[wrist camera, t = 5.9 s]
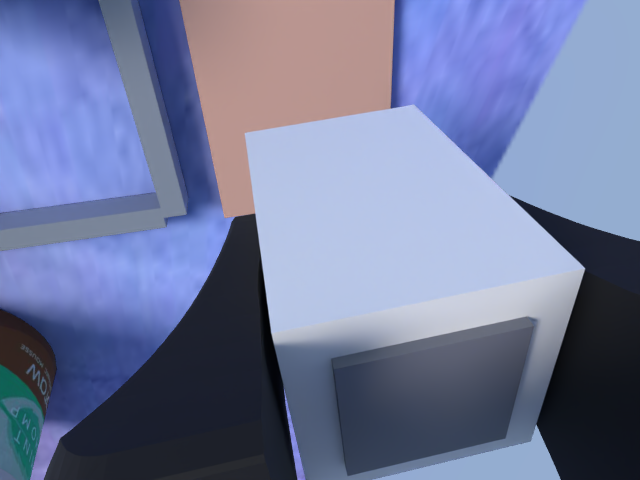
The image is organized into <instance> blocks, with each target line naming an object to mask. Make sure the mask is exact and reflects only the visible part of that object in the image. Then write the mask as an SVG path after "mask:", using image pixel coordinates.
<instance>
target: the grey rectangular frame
mask: <svg viewBox="0 0 640 480" xmlns="http://www.w3.org/2000/svg"><path fill="white" fill-rule="evenodd" d="M98 1H99V4H100V8H101V11H102V14H103V18H104V21H105V24H106V28H107V31H108V34H109V38H110V41H111V44H112V47H113V51H114V54H115V57H116V61H117V64H118V67H119V71H120V74H121V77H122V81H123V84H124V87H125V91H126V94H127V97H128V101H129V104H130V107H131V111H132V114H133V117H134V121H135V124H136V127H137V131H138V134H139V137H140V141H141V144H142V147H143V151H144V154H145V157H146V161H147V164H148V167H149V171H150V174H151V177H152V181H153V184H154V187H155V191H156V193H149V194H141V195H134V196H126V197H119V198H111V199H104V200H96V201H89V202H81V203H74V204H66V205H59V206H51V207H44V208H36V209H29V210H21V211H14V212H6V213H0V251H4V250H11V249H18V248H25V247H32V246H39V245H46V244H53V243H60V242H67V241H74V240H81V239H88V238H95V237H102V236H109V235H116V234H123V233H130V232H137V231H144V230H151V229H158V228H165V227H167V221H168V217H173V216H181V215H187V208H188V194H187V190H186V186H185V182H184V178H183V175H182V171H181V167H180V163H179V159H178V155H177V151H176V147H175V143H174V139H173V135H172V131H171V128H170V124H169V120H168V116H167V112H166V108H165V104H164V100H163V96H162V92H161V88H160V84H159V81H158V77H157V73H156V69H155V65H154V61H153V57H152V53H151V49H150V45H149V41H148V37H147V34H146V30H145V26H144V22H143V18H142V14H141V10H140V6H139V2H138V0H98Z"/></svg>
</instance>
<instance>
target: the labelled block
mask: <svg viewBox="0 0 640 480" xmlns="http://www.w3.org/2000/svg"><path fill="white" fill-rule="evenodd" d="M245 139H246V147H247V154H248V162H249V169H250V177H251V184H252V192H253V199H254V207H255V214H256V222H257V229H258V237H259V244H260V252H261V259H262V266H263V274H264V281H265V289H266V296H267V304H268V311H269V319H270V326H271V334H272V338H273V342H274V346H275V351H276V355H277V359H278V363H279V368H280V372H281V376H282V380H283V385H284V389H285V393H286V398H287V402H288V406H289V410H290V415H291V419H292V423H293V427H294V432H295V436H296V440H297V444H298V449H299V453H300V457H301V461H302V466H303V470H304V474H305V478H306V480H372V479H376V478H381V477H385V476H389V475H393V474H397V473H401V472H406V471H410V470H414V469H418V468H422V467H426V466H430V465H435V464H439V463H443V462H447V461H451V460H455V459H460V458H464V457H468V456H472V455H476V454H480V453H485V452H489V451H493V450H496V449H501V448H505V447H509V446H514V445H518V444H522V443H526V442H530V441H531V439H532V435H533V433H534V429H535V426H536V423H537V420H538V417H539V414H540V410H541V407H542V404H543V401H544V398H545V395H546V391H547V388H548V385H549V382H550V379H551V376H552V372H553V369H554V366H555V363H556V360H557V356H558V353H559V350H560V347H561V344H562V341H563V337H564V334H565V331H566V328H567V325H568V322H569V318H570V315H571V312H572V309H573V306H574V303H575V299H576V296H577V293H578V290H579V287H580V284H581V280H582V277H583V274H584V271H585V268H584V267H583V266H582V265H581V264H580V263H579V262H578V261H577V260H576V259H575V258H574V257H573V256H572V255H571V254H570V253H569V252H568V251H567V250H565V249H564V248H563V247H562V246H561V245H560V244H559V243H558V242H557V241H556V240H555V239H554V238H553V237H552V236H551V235H550V234H549V233H548V232H547V231H546V230H545V229H544V228H542V227H541V226H540V225H539V224H538V223H537V222H536V221H535V220H534V219H533V218H532V217H531V216H530V215H529V214H528V213H527V212H526V211H525V210H524V209H523V208H522V207H520V206H519V205H518V204H517V203H516V202H515V201H514V200H513V199H512V198H511V197H510V196H509V195H508V194H507V193H506V192H505V191H504V190H503V189H502V188H501V187H500V186H499V185H497V184H496V183H495V182H494V181H493V180H492V179H491V178H490V177H489V176H488V175H487V174H486V173H485V172H484V171H483V170H482V169H481V168H480V167H479V166H478V165H477V164H475V163H474V162H473V161H472V160H471V159H470V158H469V157H468V156H467V155H466V154H465V153H464V152H463V151H462V150H461V149H460V148H459V147H458V146H457V145H456V144H455V143H454V142H452V141H451V140H450V139H449V138H448V137H447V136H446V135H445V134H444V133H443V132H442V131H441V130H440V129H439V128H438V127H437V126H436V125H435V124H434V123H433V122H432V121H430V120H429V119H428V118H427V117H426V116H425V115H424V114H423V113H422V112H421V111H420V110H419V109H418V108H417V107H416V106H415V105H410V106H404V107H398V108H392V109H386V110H380V111H373V112H367V113H361V114H355V115H349V116H343V117H337V118H331V119H325V120H319V121H313V122H307V123H301V124H295V125H289V126H283V127H277V128H271V129H265V130H259V131H253V132H247V133H245Z"/></svg>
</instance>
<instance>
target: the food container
mask: <svg viewBox="0 0 640 480" xmlns="http://www.w3.org/2000/svg"><path fill="white" fill-rule="evenodd" d="M55 373H56V361H55V355H54V353H53V350H52V348H51V346H50V345H49V343H48V342H47V341H46V339H45V338H44V337H43V336H42V335H41V334H40V333H39V332H38V331H37V330H36V329H35V328H33V327H32V326H30V325H29V324H28V323H26V322H25V321H23V320H21V319H20V318H18V317H16V316H14V315H12V314H10V313H8V312H5V311H3V310H0V480H30V477H31V473H32V469H33V465H34V460H35V456H36V452H37V448H38V444H39V440H40V436H41V431H42V427H43V423H44V419H45V415H46V411H47V407H48V402H49V398H50V394H51V390H52V386H53V382H54V378H55Z"/></svg>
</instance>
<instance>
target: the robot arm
mask: <svg viewBox="0 0 640 480" xmlns="http://www.w3.org/2000/svg"><path fill="white" fill-rule="evenodd" d="M509 196H510V195H509ZM510 197H511V198H512V199H513V200H514V201H515V202H516V203H517V204H518V205H519V206H520V207H522V208H523V209H524V210H525V211H526V212H527V213H528V214H529V215H530V216H531V217H532V218H533V219H534V220H535V221H536V222H537V223H538V224H539V225H540V226H541V227H542V228H544V229H545V230H546V231H547V232H548V233H549V234H550V235H551V236H552V237H553V238H554V239H555V240H556V241H557V242H558V243H559V244H560V245H561V246H562V247H563V248H564V249H565V250H567V251H568V252H569V253H570V254H571V255H572V256H573V257H574V258H575V259H576V260H577V261H578V262H579V263H580V264H581V265H582V266H583V267H584V268H585V271H584V274H583V277H582V280H581V284H580V287H579V290H578V293H577V296H576V299H575V303H574V306H573V309H572V312H571V315H570V318H569V322H568V325H567V328H566V331H565V334H564V337H563V341H562V344H561V347H560V350H559V353H558V356H557V360H556V363H555V366H554V369H553V372H552V376H551V379H550V382H549V385H548V388H547V391H546V395H545V398H544V401H543V404H542V407H541V410H540V414H539V417H538V420H537V423H536V425H537V427H538V429H539V431H540V434H541V436H542V438H543V440H544V442H545V445H546V447H547V449H548V451H549V453H550V455H551V458H552V460H553V462H554V465H555V467H556V469H557V472H558V474H559V476H560V479H561V480H640V241H636V240H632V239H628V238H625V237H621V236H618V235H614V234H611V233H608V232H604V231H601V230H597V229H594V228H591V227H588V226H585V225H582V224H579V223H576V222H573V221H571V220H568V219H566V218H563V217H560V216H558V215H555V214H552V213H550V212H547V211H545V210H542V209H540V208H538V207H535V206H533V205H530V204H528V203H526V202H523V201H521V200H519V199H517V198H514V197H512V196H510ZM44 480H297V475H296V469H295V462H294V456H293V450H292V443H291V437H290V430H289V424H288V418H287V411H286V405H285V395H284V385H283V380H282V376H281V372H280V368H279V363H278V359H277V355H276V351H275V346H274V342H273V338H272V334H271V326H270V319H269V311H268V304H267V296H266V289H265V281H264V274H263V266H262V259H261V252H260V244H259V237H258V229H257V222H256V214H255V213H254V214H249V215H243V216H238V217H235V218H234V220H233V221H232V223H231V226H230V229H229V232H228V235H227V238H226V240H225V243H224V245H223V247H222V250H221V252H220V254H219V256H218V258H217V260H216V263H215V265H214V267H213V269H212V271H211V273H210V275H209V276H208V278H207V280H206V282H205V283H204V285H203V287H202V289H201V290H200V292H199V294H198V295H197V297H196V299H195V300H194V302H193V303H192V305H191V306H190V308H189V309H188V311H187V312H186V314H185V315H184V317H183V318H182V319H181V321H180V322H179V323H178V325H177V326H176V327H175V329H174V330H173V331H172V332H171V334H170V335H169V336H168V337H167V339H166V340H165V341H164V342H163V344H162V345H161V346H160V347H159V348H158V349H157V351H156V352H155V353H154V354H153V355H152V356H151V357H150V359H149V360H148V361H147V362H146V363H145V364H144V365H143V366H142V367H141V368H140V369H139V370H138V371H137V372H136V373H135V374H134V375H133V376H132V377H131V378H130V379H129V380H128V381H127V382H126V383H125V384H124V385H122V386H121V387H120V388H119V389H118V390H117V391H116V392H115V393H114V394H113V395H112V396H111V397H110V398H108V399H107V400H106V401H105V402H104V403H103V404H101V405H100V406H99V407H98V408H97V409H95V410H94V411H93V412H92V413H91V414H90V415H88V416H87V417H86V418H85V419H84V420H82V421H81V422H80V423H79V424H78V425H76V426H75V427H74V428H73V429H72V430H70V431H69V432H68V433H67V434H65V435H64V436H63V437H61V438H60V440H59V443H58V446H57V448H56V451H55V453H54V455H53V457H52V460H51V462H50V464H49V467H48V469H47V472H46V475H45V478H44Z"/></svg>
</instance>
